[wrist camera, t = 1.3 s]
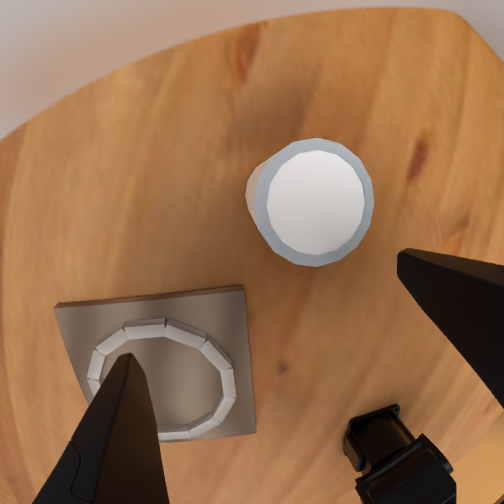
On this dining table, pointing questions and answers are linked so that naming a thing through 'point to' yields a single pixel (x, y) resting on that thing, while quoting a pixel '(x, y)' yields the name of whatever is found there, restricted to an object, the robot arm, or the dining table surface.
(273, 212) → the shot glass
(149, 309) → the ring holder
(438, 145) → the dining table surface
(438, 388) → the dining table surface
